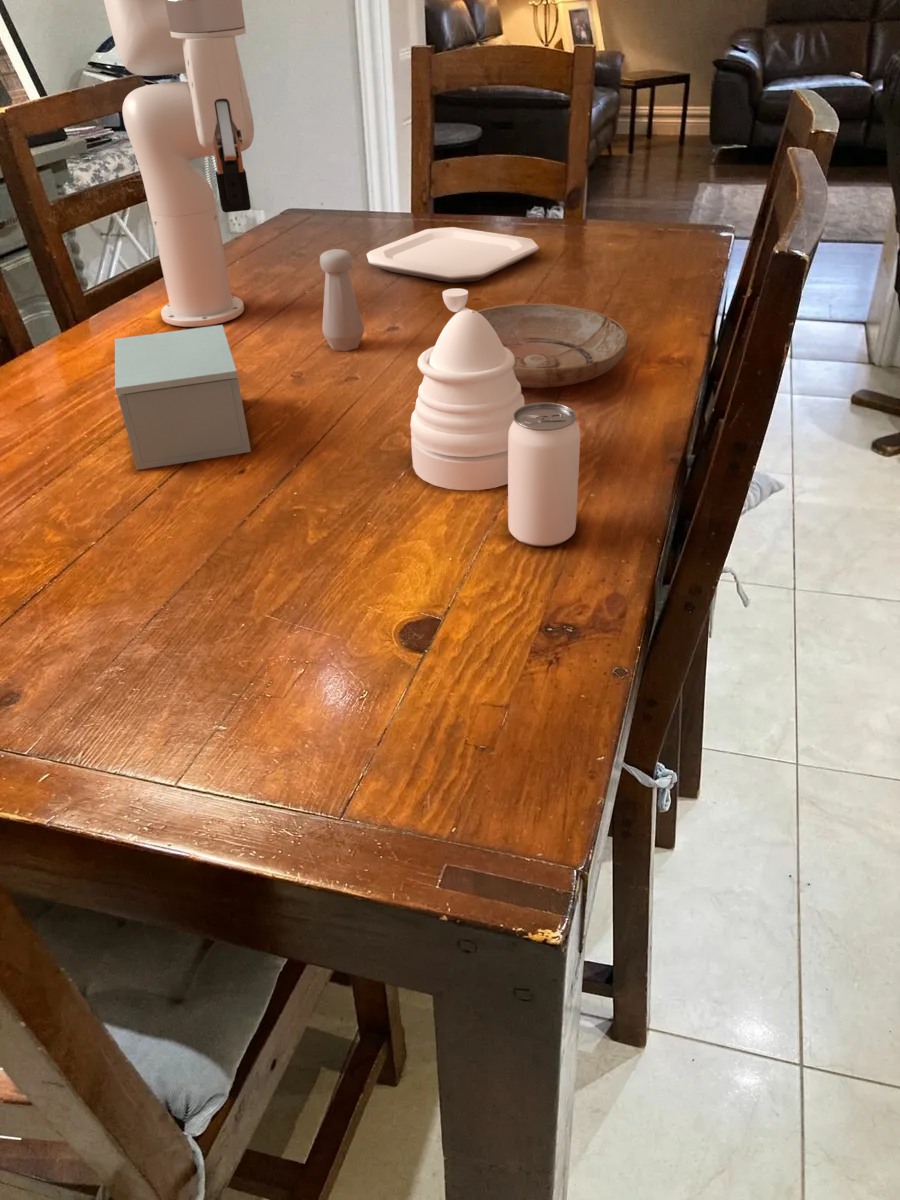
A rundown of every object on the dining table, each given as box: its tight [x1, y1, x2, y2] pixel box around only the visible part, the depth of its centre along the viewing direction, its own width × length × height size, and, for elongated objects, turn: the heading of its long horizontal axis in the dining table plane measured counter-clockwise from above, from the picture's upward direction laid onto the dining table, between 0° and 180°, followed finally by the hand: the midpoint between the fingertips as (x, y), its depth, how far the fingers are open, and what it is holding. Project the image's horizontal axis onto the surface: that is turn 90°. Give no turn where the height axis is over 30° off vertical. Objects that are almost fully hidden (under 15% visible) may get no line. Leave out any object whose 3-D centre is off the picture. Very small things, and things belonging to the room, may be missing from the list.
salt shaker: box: [319, 248, 365, 352], centre depth 128 cm, size 6×6×13 cm
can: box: [507, 402, 581, 548], centre depth 86 cm, size 6×6×12 cm
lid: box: [114, 324, 239, 396], centre depth 105 cm, size 16×13×1 cm
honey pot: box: [409, 288, 526, 491], centre depth 97 cm, size 13×13×18 cm
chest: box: [117, 377, 252, 471], centre depth 108 cm, size 16×13×9 cm
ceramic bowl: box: [475, 303, 629, 389], centre depth 121 cm, size 23×24×5 cm
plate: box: [366, 226, 540, 284], centre depth 163 cm, size 25×25×2 cm
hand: (236, 209), depth 105 cm, fingers closed
